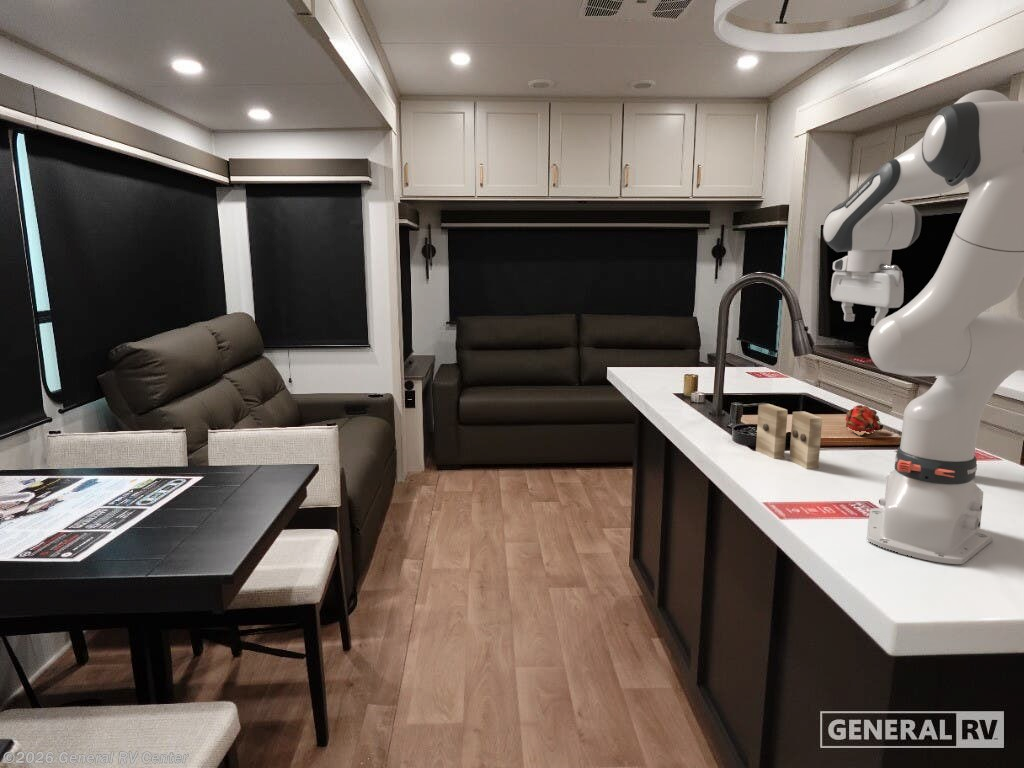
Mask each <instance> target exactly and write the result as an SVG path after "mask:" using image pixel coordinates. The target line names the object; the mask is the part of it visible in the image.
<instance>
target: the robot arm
mask: <svg viewBox="0 0 1024 768" xmlns="http://www.w3.org/2000/svg"><path fill="white" fill-rule="evenodd" d="M964 184H967V188H968V198H967V201H966V204H965V206H964V209H963V211H962V213H961V215H960V217H959V219H958V222H957V224H956V226H955V229H954V231H953V233H952V236H951V239H950V241H949V243H948V245H947V248H946V250H945V253H944V255H943V257H942V260H941V262H939V263H940V264H939V265H938V267H937V269H936V271H935V273H934V275H933V277H932V278H931V279H930V280H929V282H928V283H927V284H926V285H925V286H924V288H923V289H922V290H921V291H920V292H919V293H918V294H917V295H916V296H915V297H914V298H913V299H911V300H910V301H909V302H908V303H907V304H906V305H904V306H903V307H902V308H900V307H901V306H902V305H903V303H904V293H905V291H904V290H905V288H904V285H905V284H904V277H903V271H902V270H901V268H900V267H899V266H898V265H896V264H892V263H891V262H892V257H893V255H892V254H893V250H902V249H907V248H908V247H910V246H911V245H912V244H914V243H915V242H916V240H918V238H919V236H920V234H921V229H922V216H921V214H920V211H919V210H918V209H917V208H916V206H914V205H912V204H907V203H904V202H903V201H901V200H904V199H911V198H916V197H924V196H932V195H933V196H934V195H940V194H945V193H949V192H951V191H954V190H956V189H958V188H959V187H962V186H963V185H964ZM822 227H823V228H822V237H823V240H824V242H825V243H826V244H827V246H828V247H830V248H831V249H833V251H835V252H836V253H841V252H843V253H844V252H847V255H845V256H843V257H842V258H839V259H837V260H835V261H833V262H832V270H833V271H834V272H833V273H832V277H831V283H830V285H831V286H830V297H831V298H832V300H833V301H836V302H841V308H842V311H843V313H844V314H843V320H844V322H854V321H855V317H856V313H854V312H853V308H852V307H854V304H856V305H865V306H869V307H870V306H871V307H875V312H876V313H875V315H874V318H873V317H872V318H871V322H870V325H871V326H873V329H872V330H871V332H870V335H869V337H868V343H867V345H868V353H869V357H870V358H871V361H872V362H873V364H874V365H875V366H876V368H878V369H879V370H880V371H882V372H886V373H891V374H894V375H900V376H904V377H905V376H907V377H936V380H935V381H934V383H932V386H931V387H930V388H929V389H928V390H927V391H925V392H923V394H921V395H919V396H917V397H915V398H914V399H912V400H910V401H909V403H908V404H907V405H906V407H905V408H904V412H903V419H902V425H901V426H902V428H901V437H900V445H899V446H898V447H897V449H896V453H895V458H894V460H895V462H894V470H892V471H890V472H889V473H886V478H885V479H886V480H885V489H884V490H885V491H884V497H880V498H879V500H878V504H879V506H880V507H873V508H870V510H869V513H868V525H867V535H866V541H867V540H868V541H869V542H868V541H867V542H868V543H870V542H871V543H870V544H872V543H873V544H872V545H874V544H876V545H878V546H877V547H879V546H880V547H879V548H881V547H883V548H882V549H884V548H886V549H885V550H887V549H889V550H888V551H890V550H893V551H895V552H894V553H896V552H898V553H897V554H901V555H904V556H907V555H908V557H911V556H912V557H913V558H916V559H921V560H925V561H930V562H935V563H942V564H949V565H963V564H965V563H966V562H967V561H969V560H970V559H971V558H973V556H975V555H976V554H977V553H979V552H980V551H981V550H982V549H983V548H985V547H986V546H988V545H989V544H990V543H992V542H993V540H992V539H993V536H992V534H991V532H987V531H986V530H984V529H982V528H981V523H982V513H983V500H984V491H983V490H982V488H980V487H979V486H978V485H977V484H976V482H975V481H974V479H975V478H976V472H977V468H978V464H977V462H978V461H977V460H978V459H977V457H976V456H975V455H976V454H975V453H976V448H977V447H976V446H977V440H978V434H979V430H980V424H981V420H982V416H983V413H984V411H985V408H986V406H987V404H988V402H989V401H990V399H991V398H992V397H993V395H994V393H995V392H996V390H997V389H998V388H999V386H1000V385H1001V384H1002V383H1003V382H1004V381H1006V379H1007V378H1008V377H1010V376H1011V375H1012V374H1014V373H1015V372H1017V371H1019V370H1021V368H1023V367H1024V319H1023V317H1020V316H1014V315H1011V314H1010V315H1009V314H1006V313H1000V312H993V311H986V310H988V309H989V308H991V307H993V306H996V305H998V304H1001V303H1002V302H1004V301H1006V300H1008V299H1009V298H1010V297H1011V296H1013V294H1014V293H1015V292H1016V291H1017V290H1018V289H1019V287H1020V285H1021V283H1022V281H1023V279H1024V102H1021V101H1019V100H1010V99H1009V98H1008V97H1007V96H1006V95H1005V94H1003V93H1001V92H999V91H996V90H992V89H980V90H979V89H978V90H974V91H972V92H969V93H967V94H965V95H963V96H962V97H960V98H959V99H958V100H957V101H955V102H954V103H953V104H949V105H946V106H944V107H941V108H940V110H938V111H937V112H936V113H935V114H934V115H933V117H932V118H931V120H930V121H929V123H928V125H927V127H926V129H925V132H924V135H923V137H921V138H920V139H919V141H917V142H916V143H914V144H913V145H912V146H911V147H909V148H908V149H907V150H905V151H904V152H902V153H901V154H899V155H898V156H896V157H894V158H891V159H890V160H888V161H886V162H885V163H883V164H881V165H880V166H878V168H876V169H875V170H874V171H873V172H872V173H871V174H870V175H869V176H868V177H867V178H866V179H865V181H863V182H862V183H861V184H860V185H859V186H858V188H856V189H855V190H854V191H853V192H852V193H851V194H850V196H849V197H848V198H846V199H845V200H844V201H842V202H841V203H839V204H837V205H836V206H835V207H834V208H832V210H830V212H828V213H827V215H826V217H825V219H824V223H823V226H822ZM897 308H900V309H898V310H897V311H895V312H893V313H892V314H890V315H887V314H888V312H889V309H897ZM886 315H887V316H886ZM881 506H882V507H881ZM876 545H875V546H876ZM893 551H892V552H893Z"/></svg>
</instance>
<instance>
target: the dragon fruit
mask: <svg viewBox="0 0 1024 768" xmlns="http://www.w3.org/2000/svg"><path fill="white" fill-rule="evenodd" d="M877 414H878V412H877V411H876V410H875V409H871V408H869V406H867V405H862V404H861V405H860V404H859V405H858V404H857V405H855V406H854V407H852V408H851V409H850V410H849V411H847V412H846V416H845V421H846V422H845V428H846V427H849V428H850V429H852V430H855V431H859V432H861V431H866V432H869V433H872V432H874V433H875V431H881V430H883V428H884V425H883V424H881V421H880V420H881V419H880V417H879V415H877ZM874 430H875V431H874ZM872 434H873V433H872Z"/></svg>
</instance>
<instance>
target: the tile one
mask: <svg viewBox="0 0 1024 768" xmlns="http://www.w3.org/2000/svg"><path fill="white" fill-rule="evenodd" d="M787 423H788V409H786V408H783V407H780V406H776V405H774V404H770V403H765V404H764V403H762V404H758V409H757V424H756V425H757V428H756V441H755V443H756V444H755V452H758V453H761V454H763V455H765V456H768V457H769V458H770V459H771V458H772V459H782V458H785V454H786V453H785V452H786V440H787V439H786V438H787V426H788V425H787Z"/></svg>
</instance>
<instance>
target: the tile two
mask: <svg viewBox="0 0 1024 768" xmlns="http://www.w3.org/2000/svg"><path fill="white" fill-rule="evenodd" d="M791 418H792V419H791V430H790V431H791V432H790V444H789V445H790V446H789V461H791V462H792V463H794V464H796V465H798V466H800V467H802V468H804V469H805V470H809V469H813V470H814V469H819V463H820V461H819V460H820V453H821V452H820V450H821V438H822V427H823V418H822V417H820V416H817V415H814V414H813V413H810V412H807V411H792V417H791Z"/></svg>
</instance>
